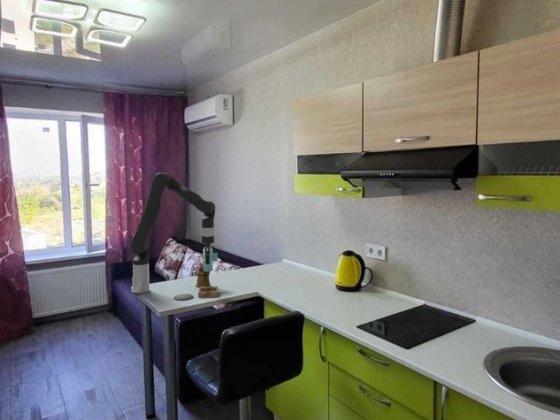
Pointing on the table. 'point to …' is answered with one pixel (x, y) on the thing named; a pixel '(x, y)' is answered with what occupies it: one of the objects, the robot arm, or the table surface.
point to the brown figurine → (202, 278)
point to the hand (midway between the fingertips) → (207, 262)
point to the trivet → (183, 297)
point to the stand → (208, 292)
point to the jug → (212, 258)
